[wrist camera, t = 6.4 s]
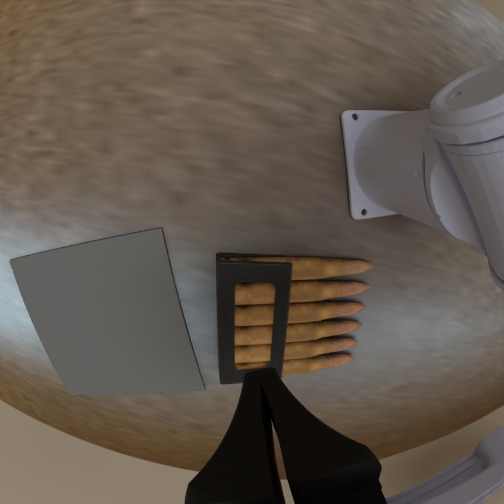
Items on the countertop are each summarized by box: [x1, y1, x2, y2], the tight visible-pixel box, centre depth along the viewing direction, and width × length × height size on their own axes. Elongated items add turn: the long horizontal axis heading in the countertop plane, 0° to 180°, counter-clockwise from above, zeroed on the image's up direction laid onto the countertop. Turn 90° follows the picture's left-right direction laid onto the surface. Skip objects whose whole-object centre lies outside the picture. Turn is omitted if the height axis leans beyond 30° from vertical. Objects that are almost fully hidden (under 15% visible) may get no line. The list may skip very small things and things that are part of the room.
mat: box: [10, 228, 205, 395], centre depth 22 cm, size 15×15×1 cm
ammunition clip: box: [216, 253, 373, 384], centre depth 23 cm, size 11×2×12 cm
